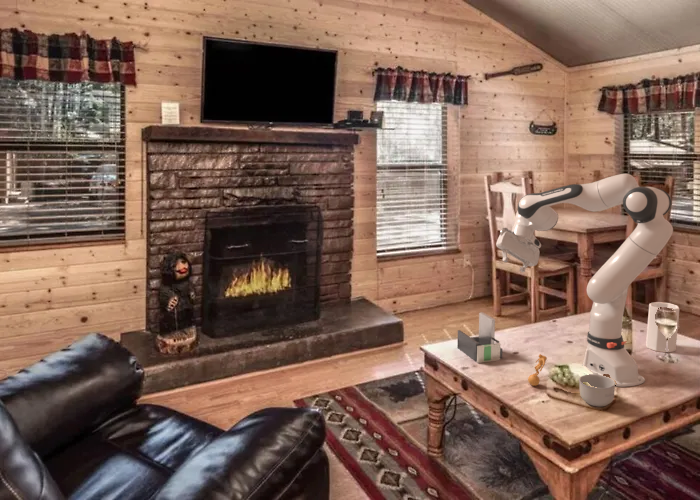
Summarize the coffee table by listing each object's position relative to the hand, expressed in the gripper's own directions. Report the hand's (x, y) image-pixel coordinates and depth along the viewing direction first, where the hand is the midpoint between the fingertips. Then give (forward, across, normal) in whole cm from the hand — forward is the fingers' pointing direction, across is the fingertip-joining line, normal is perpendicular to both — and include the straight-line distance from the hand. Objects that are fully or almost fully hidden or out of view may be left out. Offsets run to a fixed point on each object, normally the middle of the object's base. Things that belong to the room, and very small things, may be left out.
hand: (513, 266), depth 212 cm
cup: (+7, +72, -15) cm, 74 cm away
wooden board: (+32, +10, +14) cm, 36 cm away
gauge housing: (+34, +8, +18) cm, 39 cm away
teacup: (+46, +22, -32) cm, 60 cm away
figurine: (+45, +12, -14) cm, 49 cm away
